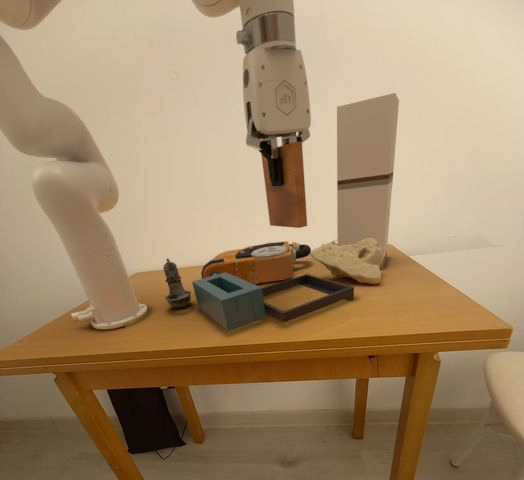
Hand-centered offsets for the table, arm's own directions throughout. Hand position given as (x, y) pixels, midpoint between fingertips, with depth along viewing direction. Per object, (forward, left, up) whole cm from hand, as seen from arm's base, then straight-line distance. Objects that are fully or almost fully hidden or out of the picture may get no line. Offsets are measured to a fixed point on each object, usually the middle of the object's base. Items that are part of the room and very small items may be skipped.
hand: (283, 183), depth 53 cm
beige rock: (+17, +2, -23) cm, 28 cm away
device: (+6, +24, -23) cm, 34 cm away
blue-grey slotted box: (-13, +5, -23) cm, 27 cm away
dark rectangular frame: (+1, 0, -23) cm, 23 cm away
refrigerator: (+30, +9, -23) cm, 39 cm away
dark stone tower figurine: (-20, +17, -23) cm, 35 cm away
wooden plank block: (0, 0, -7) cm, 7 cm away
